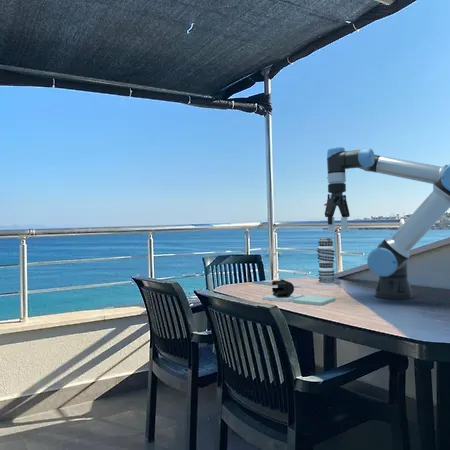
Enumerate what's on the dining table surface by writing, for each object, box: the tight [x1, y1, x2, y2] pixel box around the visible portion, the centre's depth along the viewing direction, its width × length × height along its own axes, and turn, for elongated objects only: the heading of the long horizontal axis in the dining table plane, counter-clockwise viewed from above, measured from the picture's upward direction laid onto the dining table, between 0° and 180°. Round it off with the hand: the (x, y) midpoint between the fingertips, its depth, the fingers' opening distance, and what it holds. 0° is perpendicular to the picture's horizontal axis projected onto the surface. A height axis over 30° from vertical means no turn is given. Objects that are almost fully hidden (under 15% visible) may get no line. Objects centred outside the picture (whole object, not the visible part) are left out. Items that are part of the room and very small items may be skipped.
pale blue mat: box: [262, 293, 304, 303], centre depth 186 cm, size 13×13×1 cm
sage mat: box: [291, 294, 336, 306], centre depth 177 cm, size 13×13×1 cm
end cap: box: [271, 278, 295, 298], centre depth 186 cm, size 10×7×7 cm
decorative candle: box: [316, 237, 336, 286], centre depth 230 cm, size 9×9×25 cm
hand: (338, 232), depth 184 cm, fingers open, 13 cm apart
